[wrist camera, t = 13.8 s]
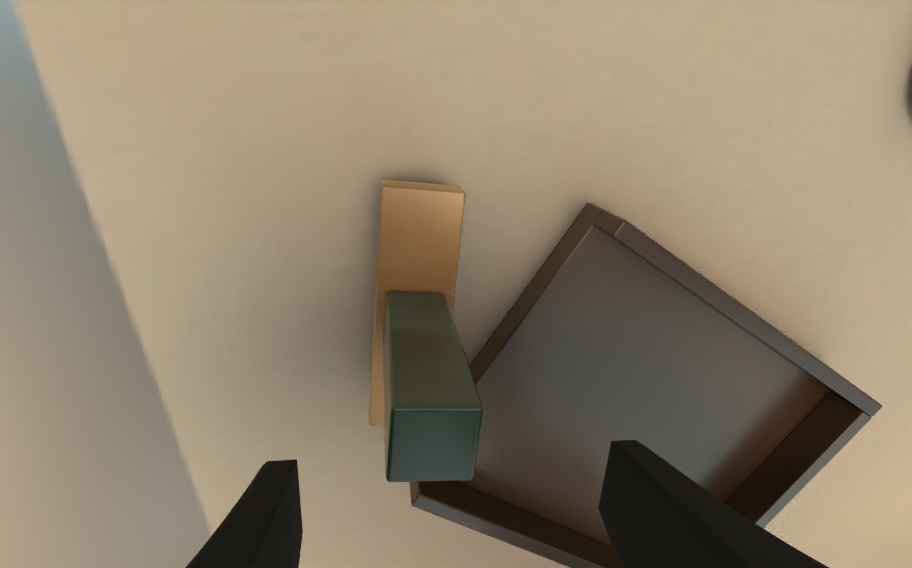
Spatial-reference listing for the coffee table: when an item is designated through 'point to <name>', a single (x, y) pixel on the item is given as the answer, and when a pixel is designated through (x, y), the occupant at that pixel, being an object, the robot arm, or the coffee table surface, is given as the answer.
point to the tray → (636, 397)
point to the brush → (421, 338)
